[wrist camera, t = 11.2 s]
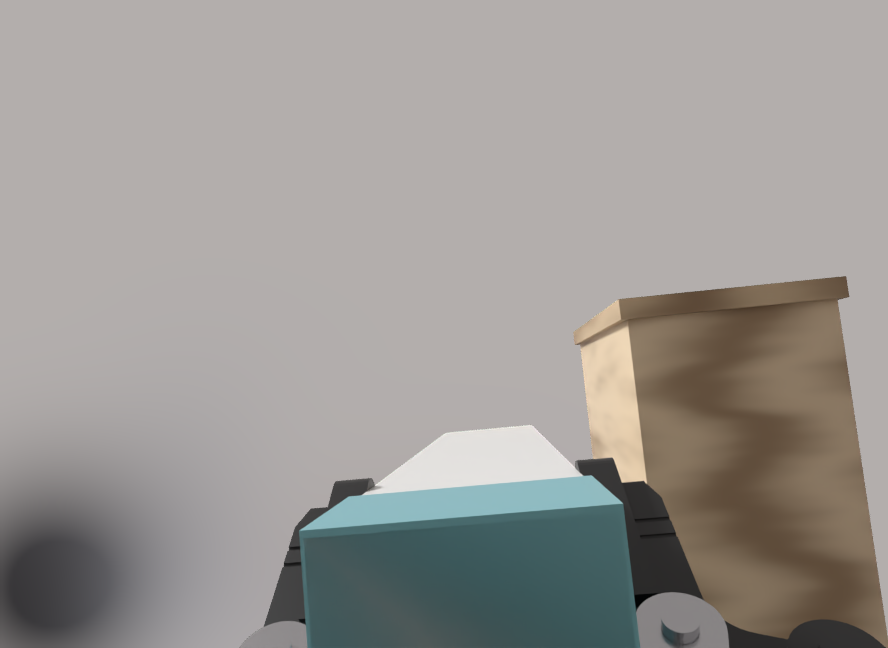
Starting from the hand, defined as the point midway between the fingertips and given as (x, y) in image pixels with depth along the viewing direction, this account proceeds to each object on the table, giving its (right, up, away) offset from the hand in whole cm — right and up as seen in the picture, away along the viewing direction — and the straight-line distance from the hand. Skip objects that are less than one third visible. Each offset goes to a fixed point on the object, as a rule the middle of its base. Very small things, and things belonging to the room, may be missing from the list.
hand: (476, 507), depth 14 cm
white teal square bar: (+1, -4, +6) cm, 7 cm away
